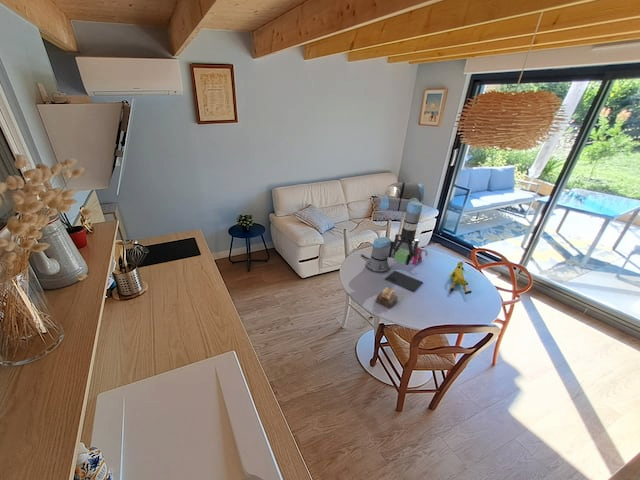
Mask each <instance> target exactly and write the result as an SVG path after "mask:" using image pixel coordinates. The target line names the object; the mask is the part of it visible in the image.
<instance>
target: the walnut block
mask: <svg viewBox="0 0 640 480" xmlns="http://www.w3.org/2000/svg"><path fill="white" fill-rule="evenodd" d="M382 293H383V291H381V292H380V293H379V294H378V295H377V296H376V299H375V302H376V303H378V304H380V305H382V306H384V307H387V309H390V308H391V307H393V306H394V305H395V303H396V302H397V301H398V295H395V294H393V297H392V298H391V299H390V300H388V299H386V298H384V297H382Z"/></svg>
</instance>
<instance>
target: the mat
mask: <svg viewBox="0 0 640 480" xmlns="http://www.w3.org/2000/svg"><path fill="white" fill-rule="evenodd" d="M384 279H385V280H386V281H387V282H390V283H393V284H395V285H397V286H400V287H402V288H404V289H407V290H409V291H411V292H415V291H416V290H417V289H418V288H419V287H420V286H421V285H422V284H423V282H422V281H421V280H418V279H416V278H413V277H411V276H408V275H406V274H403V273H401V272H398V271H395V270H394V271H393V272H392V273H391V274H389V275H388V276H387V277H385V278H384Z"/></svg>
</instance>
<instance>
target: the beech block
mask: <svg viewBox="0 0 640 480" xmlns="http://www.w3.org/2000/svg"><path fill="white" fill-rule="evenodd" d="M382 292H383V293H382ZM382 292H381V293H382V297H384V298H386V299H388V300H390V299H391V298H392V297H393V295H395V294H394V293H395V290H394V289H393V288H390V287H389V286H388V287H385V288H384V289H383V290H382Z"/></svg>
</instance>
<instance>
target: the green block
mask: <svg viewBox="0 0 640 480" xmlns="http://www.w3.org/2000/svg"><path fill="white" fill-rule="evenodd" d="M409 255H410V254H409V251H408V250H406V249H403V248H400V249H399V250H398V251H396V253H395V257H394V258H393V261H394V262H397V263H400V264H402V265H406V263H407V259H408V256H409Z"/></svg>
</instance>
